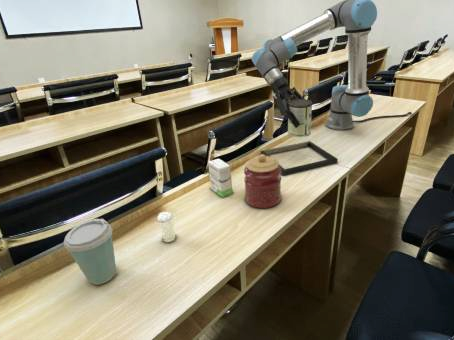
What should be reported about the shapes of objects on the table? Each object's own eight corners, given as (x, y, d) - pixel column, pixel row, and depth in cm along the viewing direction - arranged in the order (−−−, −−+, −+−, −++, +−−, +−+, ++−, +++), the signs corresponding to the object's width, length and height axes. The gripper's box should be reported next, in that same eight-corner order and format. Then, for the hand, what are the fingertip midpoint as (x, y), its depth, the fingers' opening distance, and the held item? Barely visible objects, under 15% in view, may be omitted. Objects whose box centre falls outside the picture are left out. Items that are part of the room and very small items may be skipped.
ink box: (233, 193, 116) (231, 165, 110) (221, 197, 113) (219, 169, 107) (221, 184, 122) (218, 157, 116) (210, 188, 119) (207, 161, 113)
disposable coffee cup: (83, 298, 74) (63, 251, 67) (76, 271, 82) (58, 226, 75) (129, 278, 80) (114, 232, 73) (118, 254, 87) (105, 211, 81)
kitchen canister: (237, 199, 112) (234, 155, 104) (263, 186, 120) (262, 144, 112) (263, 213, 104) (262, 167, 95) (288, 198, 112) (289, 154, 103)
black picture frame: (309, 144, 155) (309, 141, 154) (337, 162, 136) (337, 158, 136) (260, 154, 146) (260, 150, 145) (282, 175, 127) (282, 171, 126)
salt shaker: (156, 240, 93) (150, 212, 88) (172, 232, 96) (167, 205, 91) (163, 247, 90) (157, 219, 85) (180, 238, 93) (175, 211, 88)
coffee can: (287, 129, 142) (288, 98, 135) (310, 129, 141) (311, 98, 134) (287, 137, 133) (287, 105, 126) (311, 137, 132) (312, 105, 125)
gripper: (287, 82, 145) (313, 120, 143) (255, 91, 130) (284, 135, 128) (296, 71, 139) (324, 111, 137) (264, 80, 124) (295, 125, 122)
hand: (305, 122), depth 133 cm, fingers closed on coffee can, 10 cm apart
